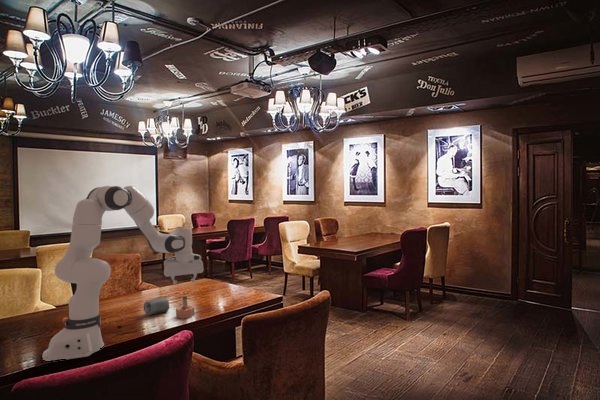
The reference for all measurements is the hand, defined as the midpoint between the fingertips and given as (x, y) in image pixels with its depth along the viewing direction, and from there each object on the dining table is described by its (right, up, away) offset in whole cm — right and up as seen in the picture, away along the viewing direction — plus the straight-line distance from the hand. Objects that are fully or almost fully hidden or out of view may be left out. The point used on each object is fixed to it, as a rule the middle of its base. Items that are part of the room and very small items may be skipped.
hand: (184, 283), depth 210 cm
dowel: (0, -17, +1) cm, 17 cm away
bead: (0, -17, +1) cm, 17 cm away
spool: (-17, -18, +6) cm, 25 cm away
